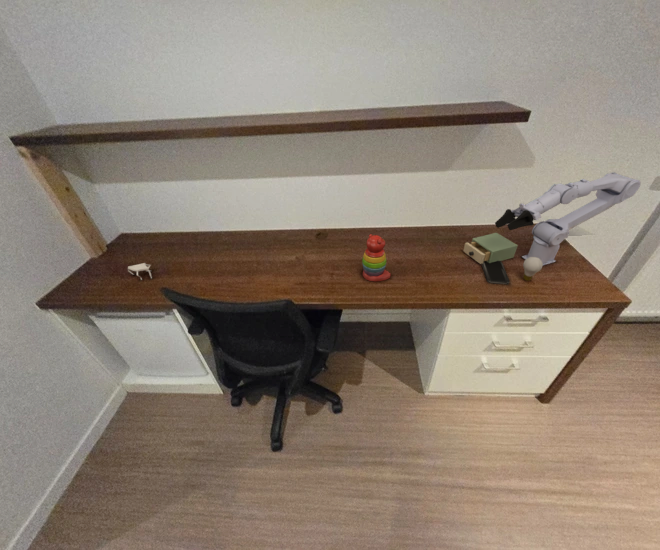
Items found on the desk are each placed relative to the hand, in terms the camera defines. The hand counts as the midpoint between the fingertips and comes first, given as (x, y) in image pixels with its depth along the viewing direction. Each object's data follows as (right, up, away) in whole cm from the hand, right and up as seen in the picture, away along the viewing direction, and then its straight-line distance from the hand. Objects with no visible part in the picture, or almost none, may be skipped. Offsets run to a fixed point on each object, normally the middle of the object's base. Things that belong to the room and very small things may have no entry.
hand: (502, 226), depth 108 cm
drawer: (+2, -9, +19) cm, 21 cm away
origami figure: (-145, -18, +23) cm, 147 cm away
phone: (+3, -17, +11) cm, 20 cm away
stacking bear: (-44, -18, +14) cm, 49 cm away
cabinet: (+7, -8, +21) cm, 23 cm away
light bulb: (+12, -20, +6) cm, 24 cm away
